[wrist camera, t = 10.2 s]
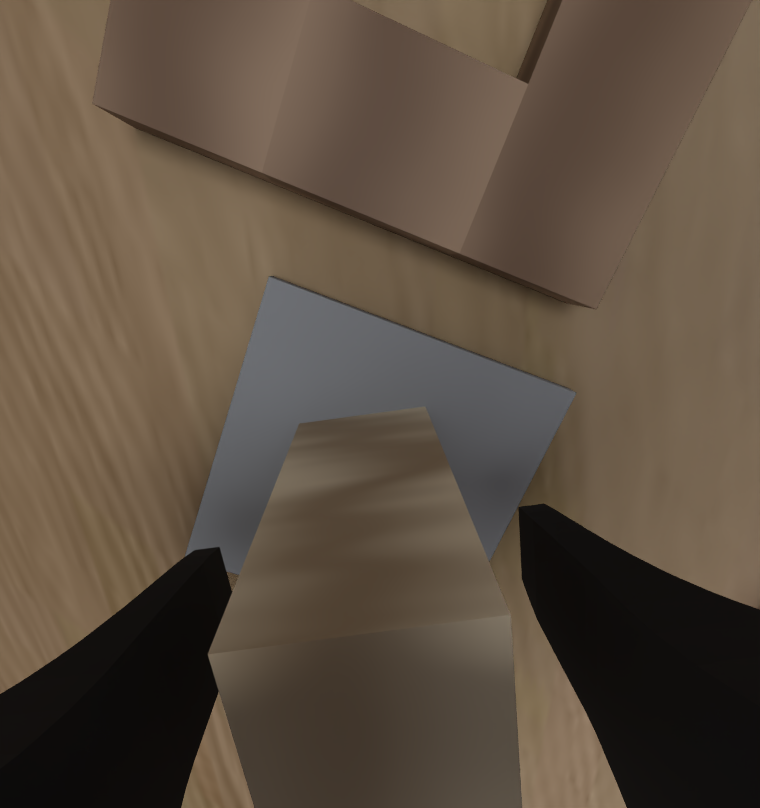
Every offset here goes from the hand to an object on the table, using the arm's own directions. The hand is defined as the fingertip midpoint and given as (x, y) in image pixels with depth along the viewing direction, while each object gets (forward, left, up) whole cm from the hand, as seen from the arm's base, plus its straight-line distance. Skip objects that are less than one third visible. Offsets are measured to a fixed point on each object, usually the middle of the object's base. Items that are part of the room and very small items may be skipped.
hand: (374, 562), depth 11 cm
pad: (0, 0, -5) cm, 5 cm away
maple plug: (0, 0, -4) cm, 4 cm away
